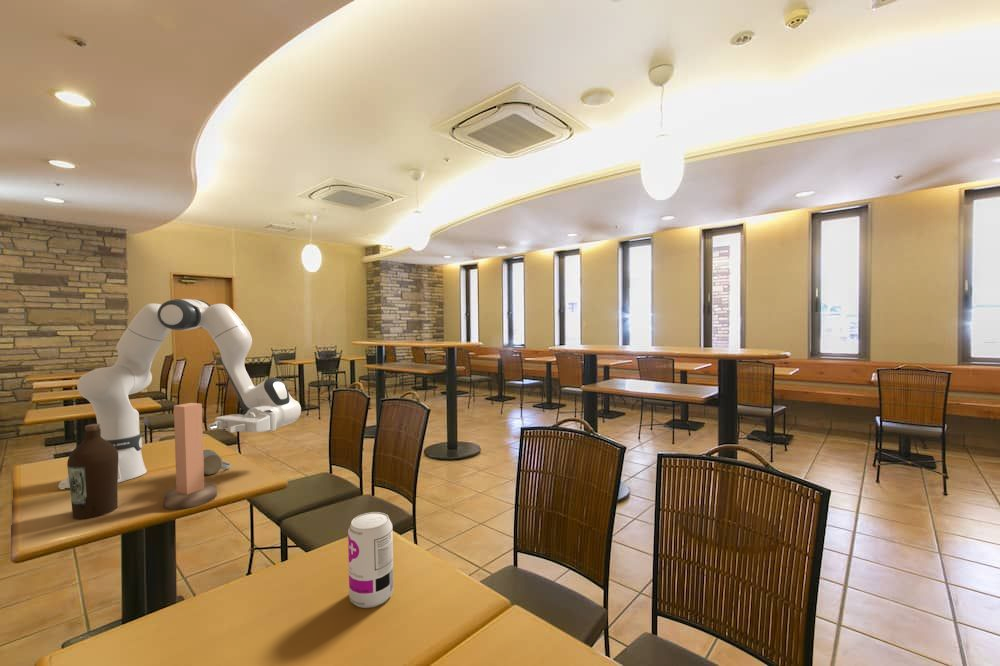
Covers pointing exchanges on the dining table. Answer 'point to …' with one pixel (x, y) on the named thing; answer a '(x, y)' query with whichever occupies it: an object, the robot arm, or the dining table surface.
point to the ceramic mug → (213, 462)
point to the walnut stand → (190, 497)
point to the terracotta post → (189, 447)
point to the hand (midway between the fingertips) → (219, 428)
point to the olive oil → (93, 475)
